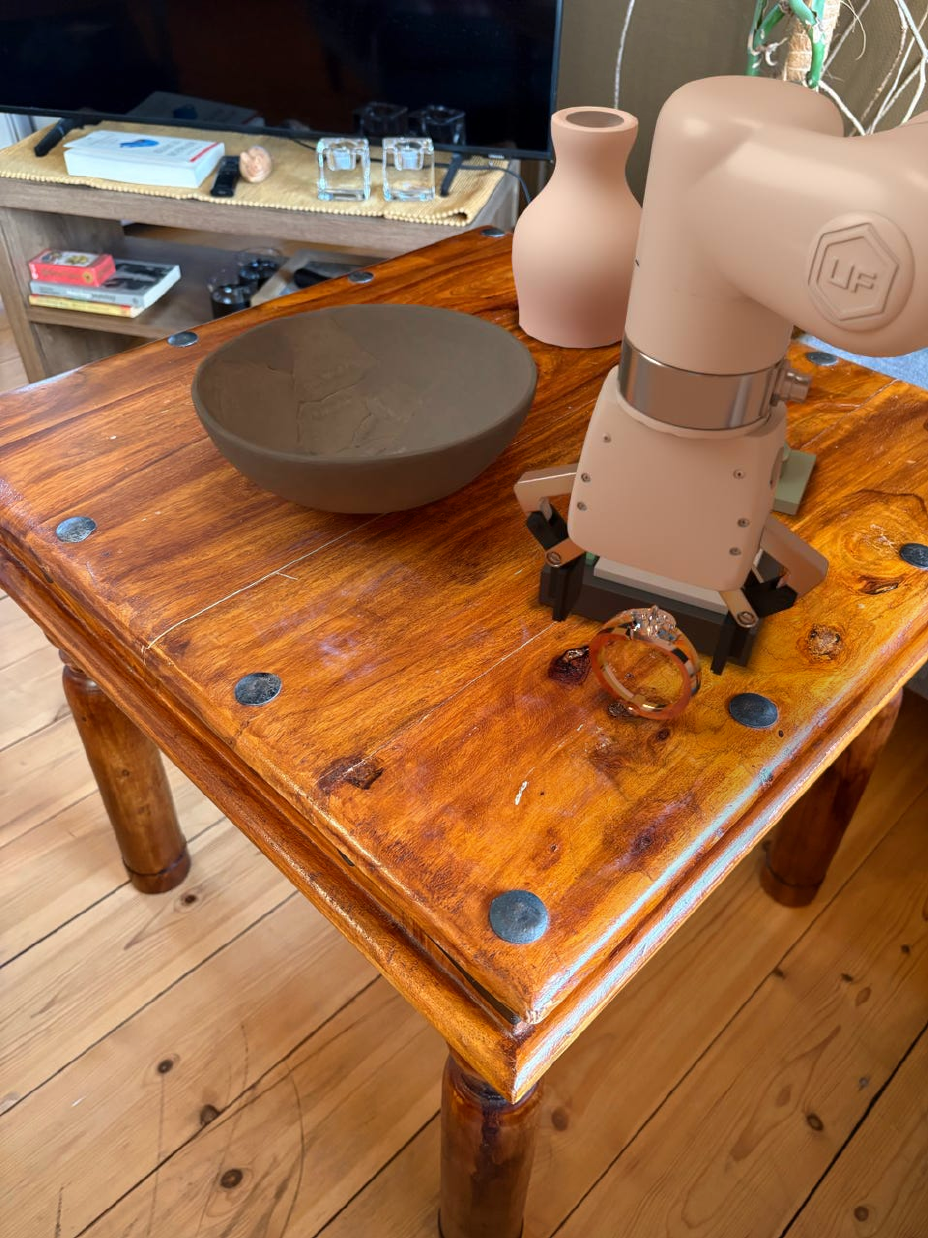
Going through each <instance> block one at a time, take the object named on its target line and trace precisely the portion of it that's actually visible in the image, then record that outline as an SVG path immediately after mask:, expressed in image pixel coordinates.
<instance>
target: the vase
mask: <svg viewBox="0 0 928 1238" xmlns="http://www.w3.org/2000/svg"><path fill="white" fill-rule="evenodd" d="M638 131H639V120H638V118H637V117H636V116H634V115H632V114H631V113H630V112H627V111H623V110H620V109H617V108H611V107H605V106H589V105H588V106H587V105H585V106H571V107H568V108H564V109H560V110H557V111H556V112H554V113H553V114H552V115H551V120H550V132H551V133H550V135H551V140H552V145H553V148H554V153H555V167H554V170H553V173H552V175H551V177H550V178H549V181H548V182H547V184H546V185H545V186H544V187H543V189H542V190H541V191H540V192H539V193H538V194H537V195H536V196H535V198H534V199H533V200H532V201H531V202H530V203H529V204H528V205H527V206H526V207H525V209H523V211H522V213H521V214H520V216H519V217H518V220H517V222H516V225H515V227H514V232H513V236H512V248H511V249H512V250H511V265H512V274H513V281H514V286H515V291H516V297H517V304H518V313H519V319H518V325H519V327H520V328H521V329H522V330H523V332H525V334H526V335H528V336H529V337H532V338H534V339H535V340H538V341H540V342H541V343H544V344H549V345H553V346H557V347H562V348H573V349H592V348H600V347H605V346H611V345H613V344H616V343H617V342H620V341H622V339H623V332H624V327H625V323H626V316H627V309H628V302H629V295H630V288H631V281H632V275H633V268H634V261H635V254H636V247H637V241H638V234H639V228H640V221H641V215H642V208H643V207H642V206H641V204H640V203H639V202H638V201H637V199H636V198H635V196H634V195H633V193H632V191H631V189H630V187H629V184H628V182H627V180H626V165H627V161H628V158H629V155H630V154H631V151H632V149H633V146H634V144H635V143H636V139H637V136H638Z"/></svg>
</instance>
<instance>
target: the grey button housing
mask: <svg viewBox="0 0 928 1238" xmlns="http://www.w3.org/2000/svg"><path fill="white" fill-rule="evenodd" d="M817 458H818V455H817V454H813V453H809V452H806V451H801V450H797V449H793V448H791V446H790V445H789V443H788V441H787V439H785V446H784V454H783V460H782V465H781V471H780V476H779V480H778V485H777V490H776V494H775V498H774V503H773V507H772V511H775V512H779V513H783V514H787V515H790V516H794V517H795V516H796V515H797V512H798V511H799V507H800V505H801V502H802V499H803V496H804V495H805V491H806V489H807V486H808V483H809V481H810V477H811V475H812V472H813V470H814V467H815V465H816V460H817Z"/></svg>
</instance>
